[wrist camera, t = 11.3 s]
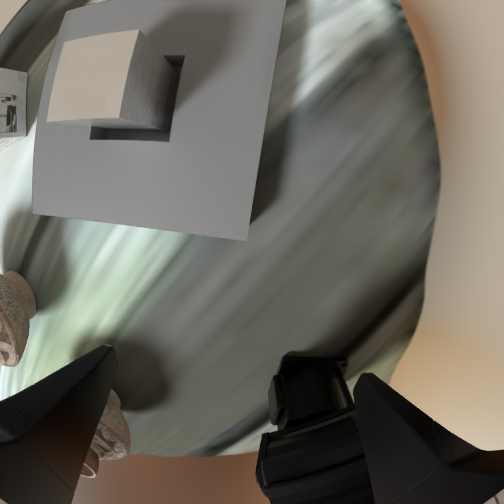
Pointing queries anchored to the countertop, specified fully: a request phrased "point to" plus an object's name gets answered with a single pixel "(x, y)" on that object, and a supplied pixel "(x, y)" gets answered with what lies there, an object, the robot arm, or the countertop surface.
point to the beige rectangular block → (114, 84)
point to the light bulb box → (12, 106)
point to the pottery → (11, 350)
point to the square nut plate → (182, 128)
